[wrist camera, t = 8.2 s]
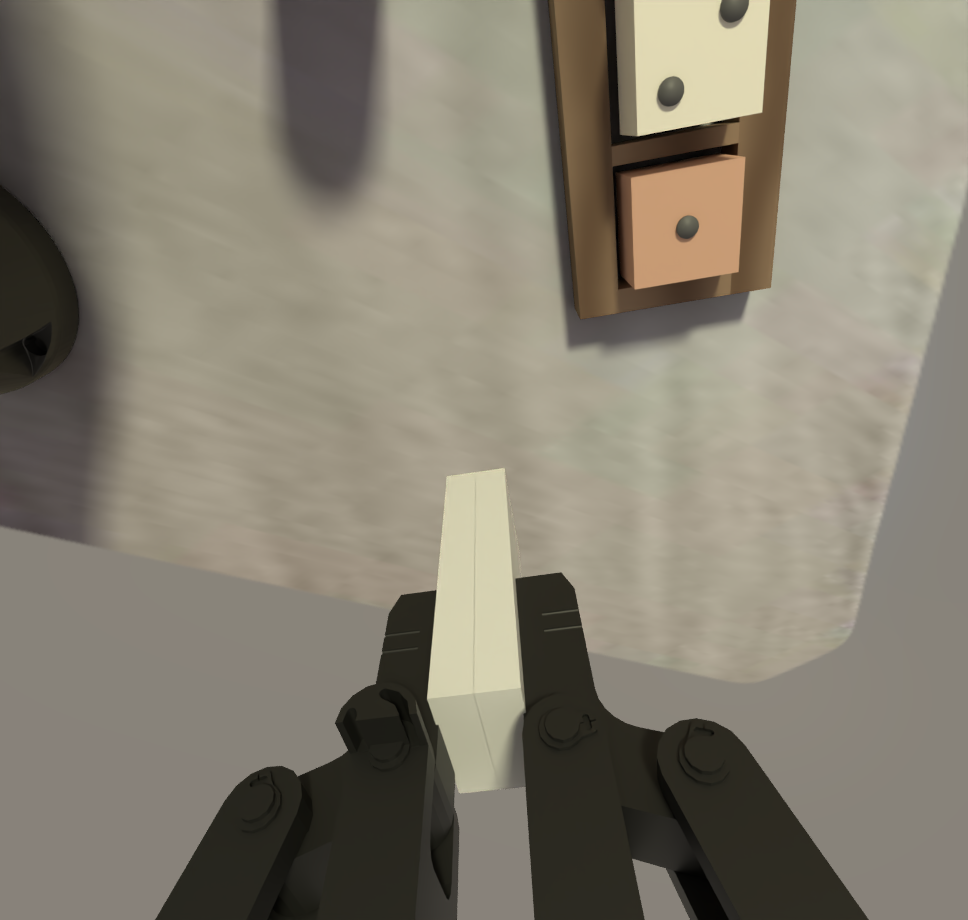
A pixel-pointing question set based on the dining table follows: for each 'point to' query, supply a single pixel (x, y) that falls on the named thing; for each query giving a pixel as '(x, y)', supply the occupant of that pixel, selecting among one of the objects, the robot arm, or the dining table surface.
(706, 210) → the peach drawer with knob
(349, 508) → the dining table surface
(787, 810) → the robot arm
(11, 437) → the dining table surface
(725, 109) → the cream two-knob drawer
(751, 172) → the brown rectangular frame
